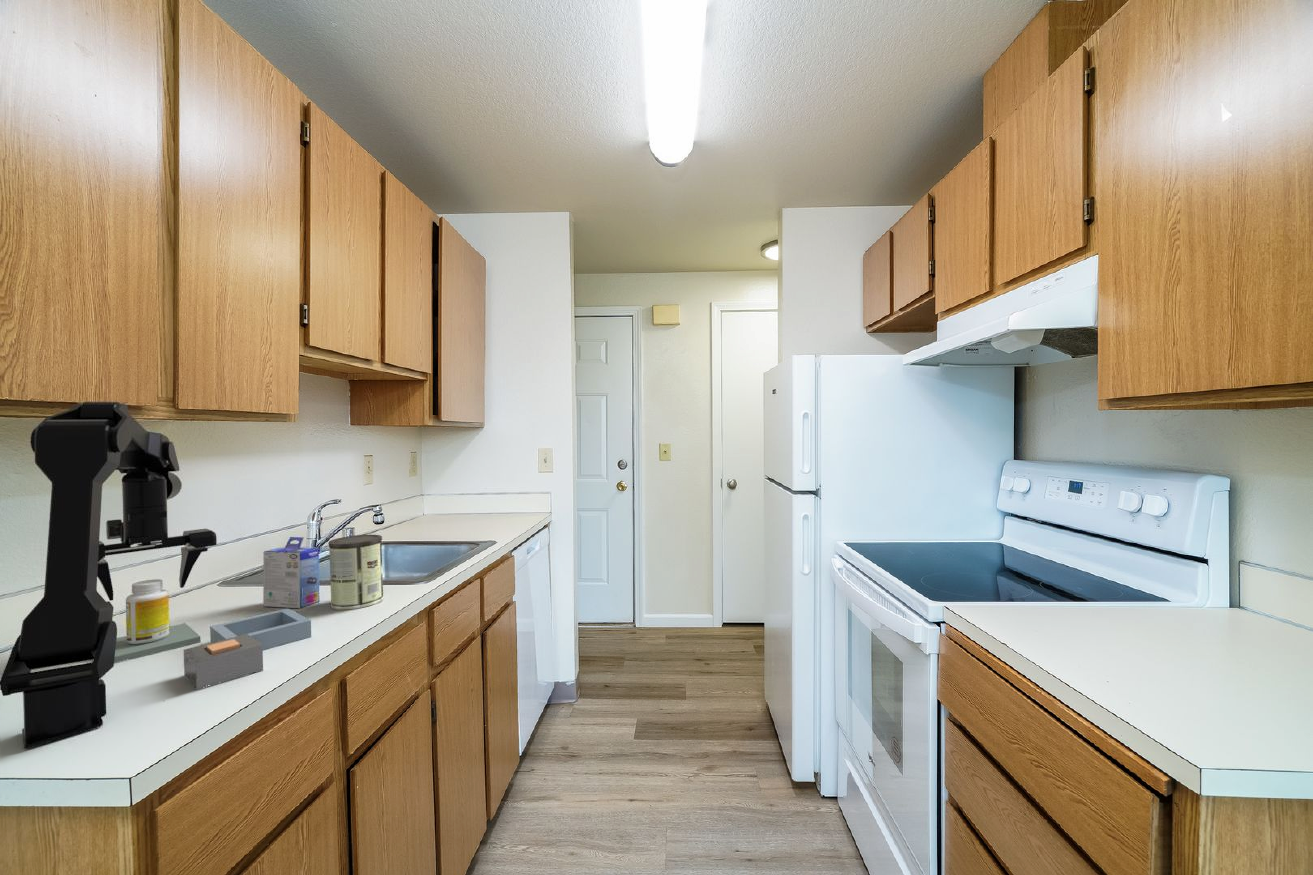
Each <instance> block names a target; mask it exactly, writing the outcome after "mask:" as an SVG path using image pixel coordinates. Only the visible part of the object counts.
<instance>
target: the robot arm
mask: <svg viewBox="0 0 1313 875" xmlns="http://www.w3.org/2000/svg"><path fill="white" fill-rule="evenodd" d="M30 447H31V450H32V452H33V454H34V463H35V465H36V466H37V467H38V468H39V469H40V471H41V472H42V473H43V475H44V476H46V478H47V479H48V480H49V481H50V482H51V492H50V493H51V494H50V506H49V521H48V534H47V550H46V551H47V552H46V562H45V563H46V564H45V575H44V576H45V579H44V590H43V591H44V592H43V597H42V598H41V599H40V601H39V602H38V603H37V604H36V605H35V606H34V607H33V609H31V611H29V613H28V614H27V616H25V617H24V619H23V621H22V624H21V631H20V634H19V635H18V636H17V638H16V640H15V643H14V644H13V646H12V649H11V651H10V655H9V658H8V660H7V662H6V664H5V667H4V670H3V672H2V674H1V677H0V691H1V694H2V696H3V697H5V696H11V695H13V694H19V693H22V700H23V701H22V702H23V704H22V706H23V711H22V712H23V728H21V729H22V730H21V732H22V733H21V734H22V735H21V736H22V743H23V749H25V750H26V749H31V748H35V747H37V746H40V745H44V744H47V743H50V742H53V741H57V740H60V739H64V738H66V737H70V736H73V735H76V734H80V733H83V732H86V731H90V730H93V729H96V728H99V727H101V726H103V725H104V720H103V717H105V716H106V715H107V692H106V691H107V690H106V689H107V688H106V685H107V684H106V683H105V681H104V679H102V678H103V677H104V676H105V675H106V674H107V673H109V671H110V670H112V669H113V668H114V666H115V663H114V659H115V649H116V639H117V638H118V626H117V623H116V621H114V620H113V615H114V605H113V604H112V603H111V601H114V588H113V581H112V578H111V572H110V567H109V562H108V561H107V560H106V557H107V556H113V555H120V554H128V553H137V552H142V551H143V552H144V551H151V550H158V549H166V548H172V547H173V548H174V547H175V548H176V547H180V546H181V547H180V554H181V555H180V556H181V560H180V566H179V567H180V568H179V578H178V581H179V588H181V589H183V588H184V587H185V585H186V583H187V580H188V579H189V576H190V574H191V572H192V570H193V568H194V565H195V564H196V562H197V560H198V559H199V557H200V556H201V554H202V553H205V552H208V551H209V549H208V548H209V547H213V546H217V543H218V542H217V534H216V533H217V532H215V531H213V530H211V529H208V528H198V529H191V530H183V533H182V535H177V536H176V535H175V536H169V535H168V534H169V529H168V528H169V526H168V500H171V499H173V498H175V497H176V496H178V495H179V493H180V492H181V490H182V487H183V486H182V481H181V479H180V478H179V477H178V475H176V474H175V473H174V472H179V471H180V465H179V461H178V456H177V453H176V449H175V444H174V442H173V441H170V439H169V437H167V435H165V434H164V433H160V432H153V431H148V430H146V429H145V428H144V427H143V426H142V425H141V424H140V423H139V421H137V419H135V417H133V416H132V415H131V413H129V408H128V406H127V404H126V403H121V402H119V401H84V402H78V403H76V404H75V405H74V406H73V408H71V409H68V410H65V411H61V412H59V413H55V414H52V415H50V416H47V417H46V418H44V419H43V420H42V421H41V422H40V423H39V424H38V425H37V426H36V427H35V428H33V430H32V431H31V434H30ZM115 471H118V472H119V473H120V474H124V475H122V478H121V487H122V488H121V489H122V490H121V491H122V493H121V495H122V519H109V520H106V522H105V526H106V532H105V533H106V540H108V541H109V540H115V539H118V540H119V539H120V542H119V543H112V544H110V543H109V544H105V543H104V542H103V541H101V540H100V532H101V518H102V517H101V515H102V513H101V512H102V499H103V498H102V496H103V494H102V493H103V484H104V483H106V481H107V480H108V479H109V478H110V477H111V476H112V475H113V473H114V472H115ZM133 545H134V546H133ZM135 545H136V546H135ZM98 580H99V582H100V584H101V586H102V589H103V590H104V592H105V594H106V596H107V598H108V600H109V601H106V600H105V598H103V596H102V594H100V593H99V592H98V589H97V588H98V587H97V586H98ZM89 661H92V662H89ZM83 662H84V663H83ZM85 662H88V663H85ZM76 663H82V664H76ZM72 664H75V665H72ZM64 665H67V666H64ZM59 666H63V667H59ZM51 667H55V668H51ZM56 667H57V668H56ZM46 668H51V669H46ZM41 669H44V670H41ZM33 670H34V671H33ZM35 670H38V671H35Z"/></svg>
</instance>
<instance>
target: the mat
mask: <svg viewBox="0 0 1313 875" xmlns="http://www.w3.org/2000/svg"><path fill="white" fill-rule="evenodd" d="M201 639H202V638H201V635H200V634H198V632H196V631H195V630H194V629H193V628H191V627H190V626H189V625H188V624H187V623H186V622H184V623H179V624H175V625H169V634H168V635H167V636H166V637H165V638H162V639H160V640H157V641H153V642H149V643H143V644H130V643H128V642H127V635H124V636H120V637H117V639H116V649H115V659H114V664H116V662H117V663H120V661H121V662H124V660H125V661H128V660H127V659H129V660H132V659H133V660H134V659H136V658H141V657H145V655H146V656H150V655H153V654H158V653H162V652H166V651H169V650H174V649H179V648H182V647H185V646H191V645H194V644H198V643H201Z"/></svg>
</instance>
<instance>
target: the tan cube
mask: <svg viewBox="0 0 1313 875" xmlns="http://www.w3.org/2000/svg"><path fill="white" fill-rule="evenodd" d="M206 647H207V652H208V653H209V654H210V655H211V654H215V653H218V652H222V651H226V650H230V649H234V648H238V647H240V644H239V643H238V642H237V641H236V640H234V639H232V640H228V641H224V642H220V643H216V644H212V645H208V646H206Z"/></svg>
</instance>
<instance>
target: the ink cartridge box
mask: <svg viewBox="0 0 1313 875" xmlns="http://www.w3.org/2000/svg"><path fill="white" fill-rule="evenodd" d="M304 538H305V537H303V536H302V537H301V536H300V537H299V536H289V538H288V540H287V542H286V544H285V546H284V547H277V548H272V549H268V550H264V551H263V556H262V557H263V566H262V567H263V577H262V578H263V582H262V583H263V589H262V590H263V593H262V594H263V597H262V598H263V599H262V600H263V603H262V606H263V607H272V608H275V607H276V608H286V609H287V608H288V609H290V608H291V609H292V608H293V609H301V608H304V607H307V606H310V605H314V604H317V603H320V548H319V547H317V546H316V547H311V546H310V547H309V546H307V547H306V546H305V547H304V546H302V543H303V541H304ZM293 541H294V542H295V541H297V542H298V543H291V542H293ZM301 546H302V547H301Z"/></svg>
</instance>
